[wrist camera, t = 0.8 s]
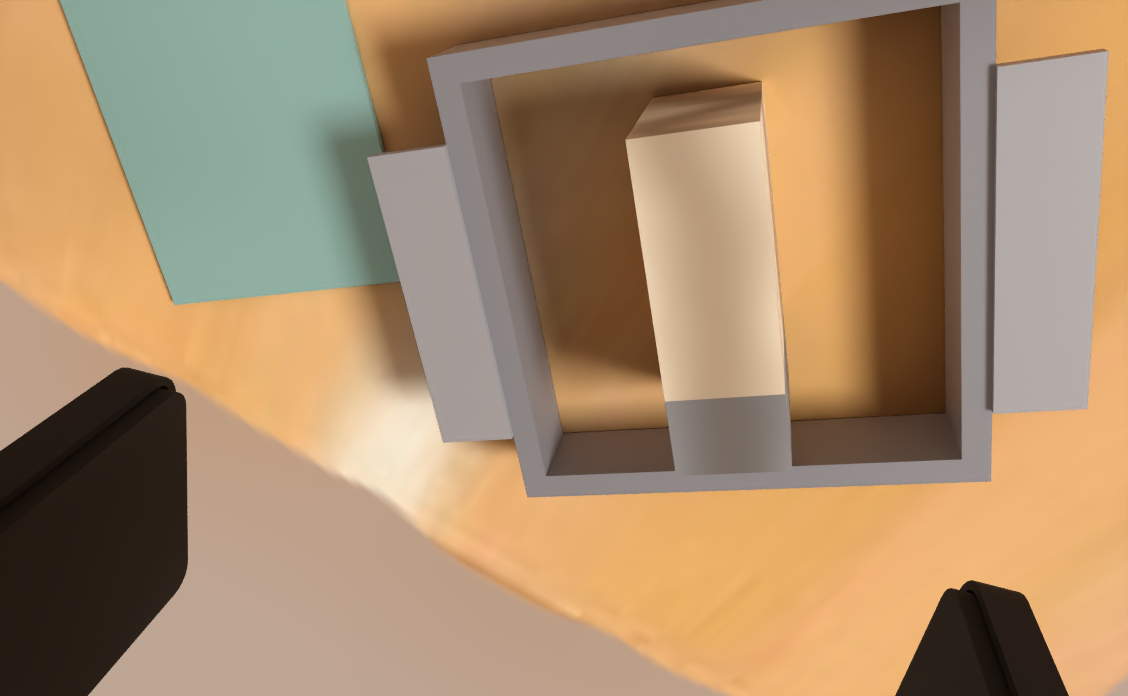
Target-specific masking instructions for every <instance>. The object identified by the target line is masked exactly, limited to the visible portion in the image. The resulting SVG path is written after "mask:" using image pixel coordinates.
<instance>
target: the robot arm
mask: <svg viewBox="0 0 1128 696" xmlns="http://www.w3.org/2000/svg"><path fill="white" fill-rule="evenodd" d="M186 437H187V436H186V400H185V398H184V396H183V395H182V394H181V393H178V392H176V389H175V386H174V383H173V381H172V380H170V379H169V378H167V377H163V376H159V375H155V374H151V373H146V372H143V371H139V370H135V369H131V368H120V369H118V370H116V371H114V372H113V373H111V374H110V375H109V376H107V377H106V378H104V379H103V380H101V381H100V382H99V383H97V384H96V385H94V386H93V387H91V388H90V389H89V390H87V391H86V392H84V393H83V394H81V395H80V396H78V397H77V398H76V399H74V400H73V401H71V402H70V403H69V404H67V405H66V406H64V407H63V408H61V409H60V410H58V411H57V412H56V413H54V414H53V415H51V416H50V417H48V418H47V419H46V420H44V421H43V422H41V423H40V424H38V425H37V426H36V427H34V428H33V429H31V430H30V431H28V432H27V433H26V434H24V435H23V436H22V437H20V438H18V439H17V440H16V441H14V442H13V443H11V444H10V445H8V446H7V447H6V448H4V449H3V450H1V451H0V696H88V695H89V694H90V692H91V691H92V690H93V689H94V688H95V687H96V685H97V684H98V683H99V682H100V681H101V679H102V678H103V677H104V676H105V675H106V674H107V673H108V671H109V670H110V669H111V668H112V667H113V665H114V664H115V663H116V662H117V661H118V660H119V659H120V657H121V656H122V655H123V654H124V653H125V652H126V650H127V649H128V648H129V647H130V646H131V644H132V643H133V642H134V641H135V640H136V639H137V637H138V636H139V635H140V634H141V633H142V632H143V631H144V629H145V628H146V627H147V626H148V625H149V623H150V622H151V621H152V620H153V619H154V618H155V616H156V615H157V614H158V613H159V612H160V610H162V608H163V607H164V606H165V605H166V604H167V602H168V601H169V600H170V599H171V598H172V597H173V596H174V594H175V593H176V592H177V590H178V589H179V587H180V585H181V584H182V582H183V579H184V577H185V574H186V570H187V565H188V533H187V532H188V529H187V443H186V442H187V439H186ZM895 696H1069V695H1068V693H1067V691H1066V688H1065V686H1064V684H1063V681H1062V679H1061V677H1060V674H1059V672H1058V670H1057V667H1056V665H1055V663H1054V660H1053V658H1052V656H1051V653H1050V651H1049V649H1048V647H1047V644H1046V642H1045V640H1044V637H1043V635H1042V633H1041V630H1040V628H1039V626H1038V623H1037V621H1036V619H1035V616H1034V614H1033V612H1032V609H1031V607H1030V605H1029V602H1028V600H1027V599H1026V597H1025V596H1024V595H1023V594H1021V593H1020V592H1016V591H1012V590H1008V589H1004V588H1001V587H997V586H993V585H989V584H985V583H981V582H977V581H973V580H971V581H967V582H966V583H965V584H964V585H963V586H962V587H961V589H960V590H957V589H953V588H950V589H947V590H946V591H945V592H944V594H943V596H942V597H941V599H940V601H939V603H938V606H937V608H936V610H935V612H934V614H933V616H932V618H931V621H930V623H929V625H928V627H927V629H926V631H925V633H924V636H923V638H922V640H921V642H920V644H919V646H918V648H917V650H916V653H915V655H914V657H913V659H912V661H911V663H910V665H909V668H908V670H907V672H906V674H905V676H904V678H903V680H902V682H901V685H900V687H899V689H898V691H897V693H896V695H895Z"/></svg>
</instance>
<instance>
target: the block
mask: <svg viewBox="0 0 1128 696" xmlns="http://www.w3.org/2000/svg"><path fill="white" fill-rule="evenodd" d="M625 141H626V148H627V154H628V161H629V167H630V174H631V181H632V187H633V194H634V201H635V207H636V214H637V220H638V227H639V234H640V240H641V247H642V253H643V260H644V267H645V273H646V280H647V287H648V293H649V300H650V306H651V313H652V320H653V326H654V333H655V340H656V346H657V353H658V359H659V366H660V373H661V379H662V386H663V392H664V399H665V406H666V412H667V419H668V426H669V432H670V439H671V445H672V452H673V459H674V465H675V472H676V476H688V475H713V474H738V473H763V472H788V471H792V453H791V425H790V398H789V375H788V364H787V353H786V342H785V330H784V319H783V308H782V296H781V285H780V274H779V263H778V251H777V240H776V229H775V217H774V206H773V195H772V184H771V172H770V161H769V150H768V139H767V127H766V116H765V105H764V93H763V82H755V83H748V84H742V85H735V86H728V87H722V88H715V89H708V90H702V91H695V92H688V93H681V94H675V95H668V96H661V97H655V98H652V99H651V101H650V102H649V104H648V105H647V107H646V108H645V110H644V112H643V113H642V115H641V116H640V118H639V119H638V121H637V122H636V124H635V126H634V127H633V129H632V130H631V132H630V133H629V135H628V136H627V138H626V140H625Z"/></svg>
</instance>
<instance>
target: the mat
mask: <svg viewBox="0 0 1128 696" xmlns="http://www.w3.org/2000/svg"><path fill="white" fill-rule="evenodd" d="M60 2H61V5H62V8H63V10H64V13H65V16H66V18H67V21H68V24H69V26H70V29H71V32H72V34H73V37H74V40H75V42H76V45H77V48H78V50H79V53H80V56H81V58H82V61H83V64H84V66H85V69H86V71H87V74H88V77H89V79H90V82H91V85H92V87H93V90H94V93H95V95H96V98H97V101H98V103H99V106H100V109H101V111H102V114H103V117H104V119H105V122H106V125H107V127H108V130H109V133H110V135H111V138H112V140H113V143H114V146H115V148H116V151H117V154H118V156H119V159H120V162H121V164H122V167H123V170H124V172H125V175H126V178H127V180H128V183H129V186H130V188H131V191H132V194H133V196H134V199H135V202H136V204H137V207H138V209H139V212H140V215H141V217H142V220H143V223H144V225H145V228H146V231H147V233H148V236H149V239H150V241H151V244H152V247H153V249H154V252H155V255H156V257H157V260H158V263H159V265H160V268H161V271H162V273H163V276H164V278H165V281H166V284H167V286H168V289H169V292H170V294H171V297H172V300H173V302H174V305H179V304H189V303H199V302H208V301H218V300H228V299H237V298H247V297H257V296H266V295H276V294H286V293H295V292H305V291H315V290H325V289H334V288H344V287H354V286H363V285H373V284H383V283H392V282H400V279H399V275H398V271H397V268H396V264H395V260H394V256H393V253H392V249H391V245H390V241H389V238H388V234H387V230H386V226H385V223H384V219H383V215H382V211H381V208H380V204H379V200H378V196H377V193H376V189H375V185H374V181H373V178H372V174H371V170H370V166H369V163H368V159H367V157H369V156H370V155H372V154H378V153H385V150H384V146H383V142H382V138H381V135H380V131H379V127H378V123H377V119H376V115H375V111H374V107H373V104H372V100H371V96H370V92H369V88H368V84H367V80H366V76H365V73H364V69H363V65H362V61H361V57H360V53H359V49H358V45H357V42H356V38H355V34H354V30H353V26H352V22H351V18H350V15H349V11H348V7H347V3H346V0H60Z"/></svg>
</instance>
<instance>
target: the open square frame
mask: <svg viewBox="0 0 1128 696" xmlns="http://www.w3.org/2000/svg"><path fill="white" fill-rule="evenodd" d="M935 6H941V44H942V129H943V214H944V299H945V383H946V413H937V414H918V415H899V416H880V417H861V418H843V419H824V420H805V421H790V425H791V453H792V471H788V472H763V473H738V474H713V475H688V476H676V472H675V465H674V459H673V452H672V445H671V439H670V432H669V428H654V429H636V430H617V431H598V432H579V433H563V430H562V425H561V420H560V416H559V411H558V406H557V401H556V396H555V391H554V386H553V381H552V377H551V372H550V367H549V362H548V357H547V352H546V347H545V342H544V337H543V333H542V328H541V323H540V318H539V313H538V308H537V303H536V298H535V294H534V289H533V284H532V279H531V274H530V269H529V264H528V259H527V255H526V250H525V245H524V240H523V235H522V230H521V225H520V220H519V216H518V211H517V206H516V201H515V196H514V191H513V186H512V181H511V177H510V172H509V167H508V162H507V157H506V152H505V147H504V142H503V138H502V133H501V128H500V123H499V118H498V113H497V108H496V103H495V99H494V94H493V89H492V84H491V78H497V77H503V76H509V75H515V74H521V73H528V72H534V71H540V70H546V69H552V68H558V67H565V66H571V65H577V64H583V63H589V62H595V61H602V60H608V59H614V58H620V57H626V56H632V55H639V54H645V53H651V52H657V51H663V50H669V49H676V48H682V47H688V46H694V45H700V44H706V43H713V42H719V41H725V40H731V39H737V38H743V37H750V36H756V35H762V34H768V33H774V32H780V31H787V30H793V29H799V28H805V27H811V26H817V25H824V24H830V23H836V22H842V21H848V20H854V19H861V18H867V17H873V16H879V15H885V14H891V13H898V12H904V11H910V10H916V9H922V8H928V7H935ZM1108 54H1109V51H1107V50H1105V49H1098V50H1091V51H1084V52H1077V53H1071V54H1064V55H1057V56H1050V57H1043V58H1036V59H1029V60H1022V61H1015V62H1008V63H1001V64H996V0H713V1H707V2H701V3H695V4H690V5H684V6H678V7H673V8H667V9H661V10H655V11H650V12H644V13H638V14H632V15H627V16H621V17H615V18H609V19H604V20H598V21H592V22H586V23H581V24H575V25H569V26H563V27H558V28H552V29H546V30H540V31H535V32H529V33H523V34H517V35H512V36H506V37H500V38H494V39H489V40H483V41H477V42H471V43H466V44H460V45H456V46H454V47H452V48H449V49H447V50H444V51H442V52H440V53H437V54H435V55H433V56H430V57H428V58H426V59H427V63H428V68H429V72H430V76H431V81H432V85H433V89H434V94H435V98H436V102H437V107H438V111H439V115H440V120H441V124H442V128H443V133H444V137H445V141H446V144H440V145H433V146H426V147H419V148H412V149H405V150H398V151H391V152H385V153H378V154H372V155H370V156H369V157H367V159H368V163H369V166H370V170H371V174H372V178H373V181H374V185H375V189H376V193H377V196H378V200H379V204H380V208H381V211H382V215H383V219H384V223H385V226H386V230H387V234H388V238H389V241H390V245H391V249H392V253H393V256H394V260H395V264H396V268H397V271H398V275H399V279H400V283H401V286H402V290H403V294H404V298H405V301H406V305H407V309H408V313H409V316H410V320H411V324H412V328H413V331H414V335H415V339H416V343H417V346H418V350H419V354H420V358H421V361H422V365H423V369H424V373H425V376H426V380H427V384H428V388H429V391H430V395H431V399H432V403H433V406H434V410H435V414H436V418H437V421H438V425H439V429H440V433H441V436H442V440H443V443H445V442H465V441H484V440H503V439H512V438H513V436H514V441H515V445H516V449H517V454H518V458H519V462H520V467H521V471H522V476H523V480H524V484H525V489H526V493H527V497H552V496H581V495H610V494H639V493H668V492H697V491H726V490H755V489H784V488H813V487H842V486H871V485H900V484H929V483H958V482H987V481H991V442H992V412H993V414H1001V413H1020V412H1039V411H1058V410H1077V409H1088V393H1089V376H1090V359H1091V342H1092V325H1093V308H1094V291H1095V274H1096V257H1097V240H1098V223H1099V207H1100V190H1101V173H1102V156H1103V139H1104V122H1105V105H1106V88H1107V71H1108Z"/></svg>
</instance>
